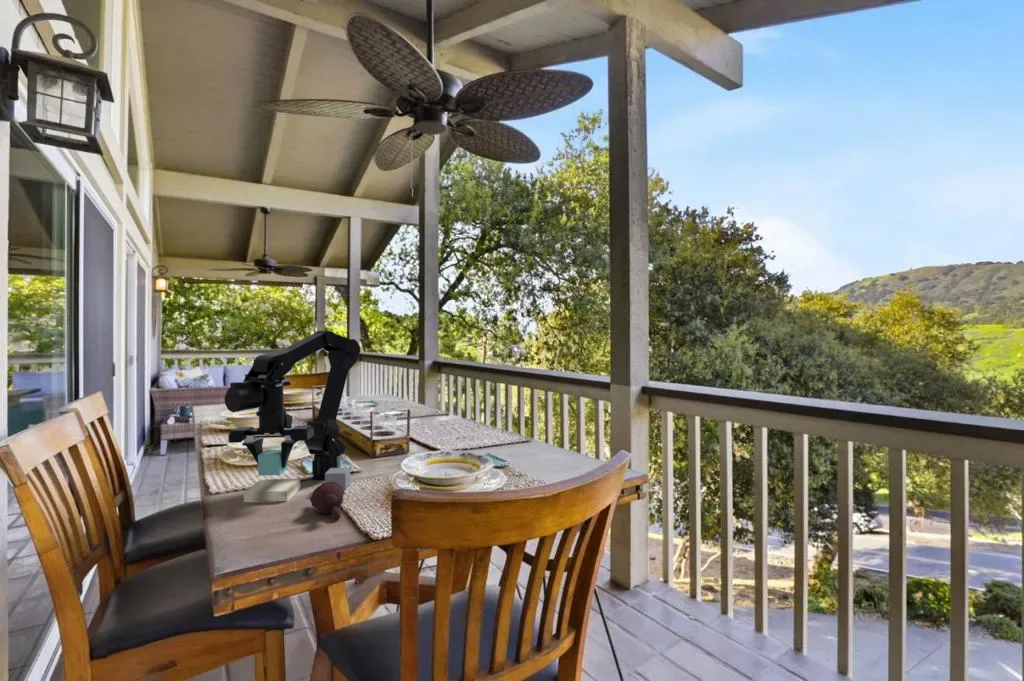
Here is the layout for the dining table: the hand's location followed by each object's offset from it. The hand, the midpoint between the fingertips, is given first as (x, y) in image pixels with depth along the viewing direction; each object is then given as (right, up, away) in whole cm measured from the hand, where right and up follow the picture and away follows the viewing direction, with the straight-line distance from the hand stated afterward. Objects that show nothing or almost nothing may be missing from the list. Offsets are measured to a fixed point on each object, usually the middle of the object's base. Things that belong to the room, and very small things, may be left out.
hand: (272, 468), depth 129 cm
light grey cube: (+15, -7, +4) cm, 17 cm away
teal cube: (0, -1, 0) cm, 1 cm away
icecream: (+18, -7, -11) cm, 22 cm away
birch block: (0, -7, 0) cm, 7 cm away
